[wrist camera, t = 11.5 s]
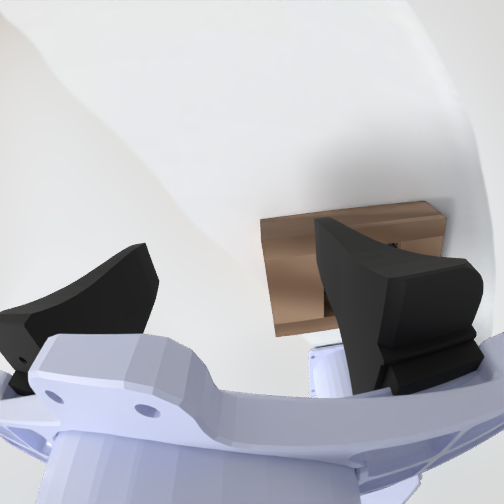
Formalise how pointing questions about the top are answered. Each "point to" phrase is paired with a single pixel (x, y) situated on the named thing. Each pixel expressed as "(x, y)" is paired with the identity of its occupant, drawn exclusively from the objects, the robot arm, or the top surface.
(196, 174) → the top surface
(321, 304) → the brown wooden hollow block
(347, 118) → the top surface
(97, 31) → the top surface
